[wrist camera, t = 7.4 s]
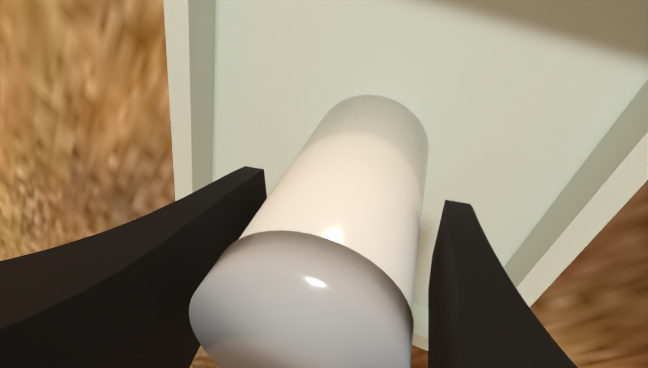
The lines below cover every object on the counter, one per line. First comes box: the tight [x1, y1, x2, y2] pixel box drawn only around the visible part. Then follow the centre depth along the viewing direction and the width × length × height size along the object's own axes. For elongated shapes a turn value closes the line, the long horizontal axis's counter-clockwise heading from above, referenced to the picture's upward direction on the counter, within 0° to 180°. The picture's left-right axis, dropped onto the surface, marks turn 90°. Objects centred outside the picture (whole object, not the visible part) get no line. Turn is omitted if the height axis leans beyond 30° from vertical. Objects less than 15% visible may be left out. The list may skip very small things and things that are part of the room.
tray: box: [163, 0, 648, 351], centre depth 13 cm, size 14×15×2 cm
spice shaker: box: [189, 95, 429, 368], centre depth 10 cm, size 4×4×8 cm
